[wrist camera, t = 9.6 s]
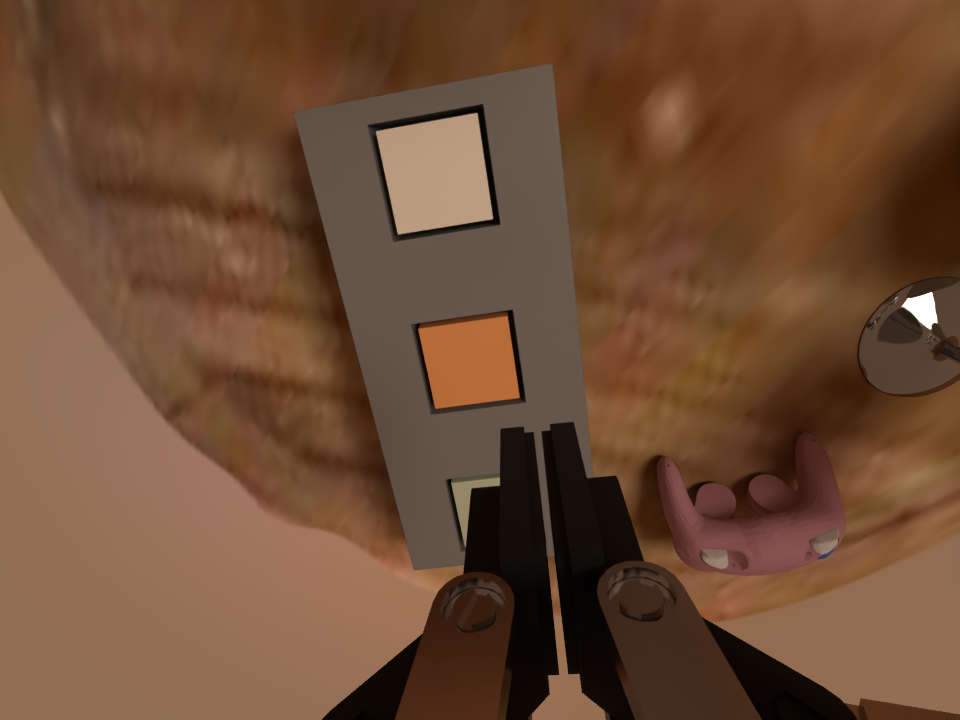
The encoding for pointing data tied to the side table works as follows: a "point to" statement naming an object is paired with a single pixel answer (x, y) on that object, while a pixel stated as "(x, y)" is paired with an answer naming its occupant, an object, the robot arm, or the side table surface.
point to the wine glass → (914, 339)
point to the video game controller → (757, 518)
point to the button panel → (453, 289)
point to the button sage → (463, 495)
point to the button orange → (470, 359)
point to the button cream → (436, 173)
